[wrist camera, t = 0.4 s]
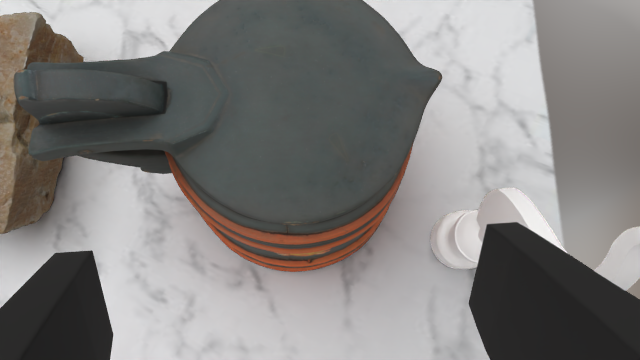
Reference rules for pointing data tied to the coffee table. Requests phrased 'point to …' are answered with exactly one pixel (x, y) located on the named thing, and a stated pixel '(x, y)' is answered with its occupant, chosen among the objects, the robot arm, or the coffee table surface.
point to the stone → (25, 120)
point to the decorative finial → (514, 206)
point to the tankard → (253, 122)
